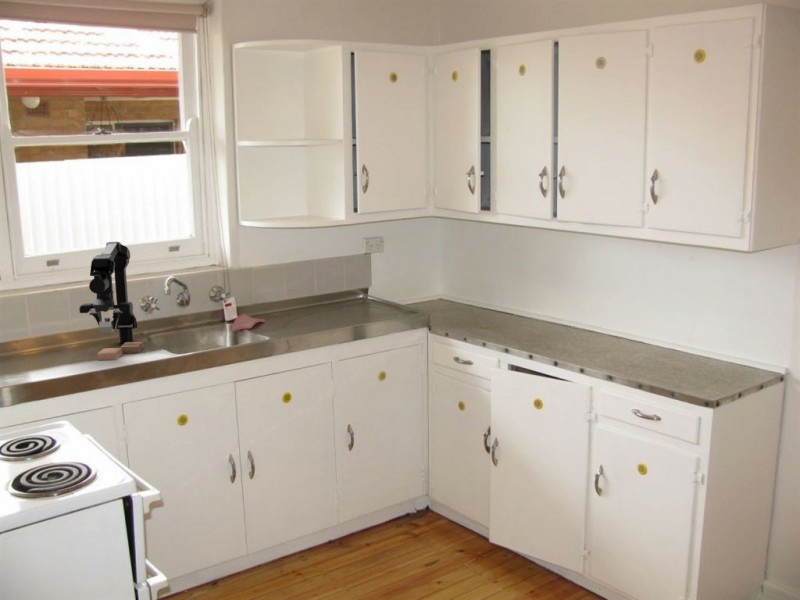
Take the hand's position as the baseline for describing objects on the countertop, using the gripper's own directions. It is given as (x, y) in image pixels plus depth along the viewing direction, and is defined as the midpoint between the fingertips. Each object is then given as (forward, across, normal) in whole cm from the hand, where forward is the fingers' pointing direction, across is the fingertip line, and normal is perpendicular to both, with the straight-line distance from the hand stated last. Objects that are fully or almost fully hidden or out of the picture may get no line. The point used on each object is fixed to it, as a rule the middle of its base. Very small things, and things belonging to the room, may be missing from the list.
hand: (108, 329), depth 323 cm
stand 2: (+11, +6, +10) cm, 16 cm away
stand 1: (+11, 0, 0) cm, 11 cm away
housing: (0, 0, 0) cm, 0 cm away
